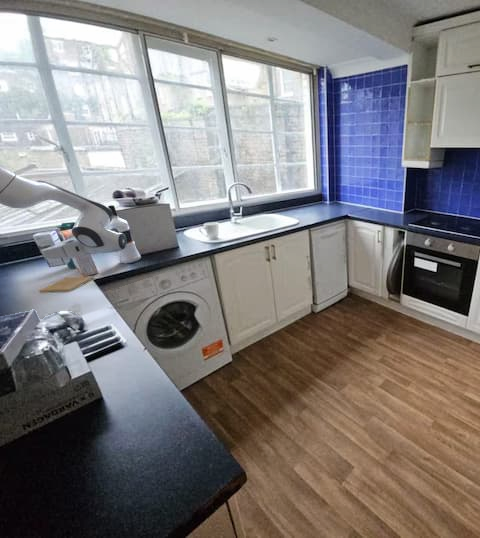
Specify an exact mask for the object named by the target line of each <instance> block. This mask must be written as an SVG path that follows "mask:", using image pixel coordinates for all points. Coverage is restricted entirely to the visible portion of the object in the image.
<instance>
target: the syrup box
mask: <svg viewBox="0 0 480 538" xmlns="http://www.w3.org/2000/svg"><path fill="white" fill-rule="evenodd" d="M58 236H59V235H58V233H57V231H56V230H48V231H41V232H37V233H34V234H33V235H32V238H33V240H34V242H35V244H36V245H37V248H38V249H39V250H40V249H42V248H48V247H51V246H53V245H56V244H58V243H61V241H60V239H59V237H58ZM41 255H42V257H43V258H44V260H45V262H46V263H47V266H48V268H54V267H60V266H61V267H62V266H66V265H67V263H69V262H70V259H69V257H67V258H57V259H47V258H45V257H44V255H43V253H41Z"/></svg>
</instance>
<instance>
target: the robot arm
mask: <svg viewBox="0 0 480 538" xmlns="http://www.w3.org/2000/svg"><path fill="white" fill-rule="evenodd" d="M44 201H45V202H46V201H53V202H58V203H60V204H62V205H63V204H64V205H65V206H68V207H70V208H72V209H76V210H77V211H78V212H79V213H80V214H79V216H78V218H77V220H75V224H74V226H73V229H72V234H73V236H74V237H73V238H70V239H68V240H65V241H62V242H61V243H58V244H56V245H53V246H51V247H48V248H42V249H39V252H40V253H41V254H42V253H43V255H44V256H43V255H42V256H43V258H44V257H45V258H47V259H57V258H67V257H69V258H70V259H72V258H76V257H80V256H83V255H89V254H90V255H96V254H100V253H101V254H109V253H118V251H121V250H123V249H124V248H125V246H126V243H127V239H126V236H125V235H124V234H123V233H118V232H113V231H110V230H109V228H108V226H109V224H110V222H111V221H112V219H113V217H114V214H113V212H112V211H111V210H110V209H109V208H108V206H107V205H105V204H104V203H101V202H97V201H94V200H91V199H88V198H86V197H84V196H82V195H79V194H77V193H75V192H73V191H70V190H68V189H66V188H63V187H61V186H58V185H56V184H53V183H51V182H47V181H45V180H32V179H28V178H26V177H22V176H20V175H18V174H16V173H14V172H12V171H11V170H8V169H6V168H4V167H2V166H0V205H2V206H5V207H8V208H11V209H26V208H31V207H34V206H35V205H38V204H40V203H42V202H44ZM45 258H44V259H45Z"/></svg>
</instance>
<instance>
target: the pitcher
mask: <svg viewBox="0 0 480 538" xmlns="http://www.w3.org/2000/svg"><path fill="white" fill-rule="evenodd" d="M75 223H76V221H72V222H62V223H61V224H60V225H57V226H56V229H59V230H60V231H64V230H70V229H73V226H74V224H75ZM58 237H59V239H60V241H61V242H62V241H63V239H62V237H61V235H60V234H59V235H58ZM69 259H70V258H69ZM66 265H67V268H68V269H70V270H71V269H72V270H73V269H77V268H76V266H75V264H74V262H73V260H72V259H70V262H69V263H67V264H66Z"/></svg>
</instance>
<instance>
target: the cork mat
mask: <svg viewBox="0 0 480 538" xmlns="http://www.w3.org/2000/svg"><path fill="white" fill-rule="evenodd" d="M93 277H94V276H87V277H84V276H74V277H64V278H61V279H60V280H57V281H56V282H53V283H51V284H49V285H47V286H45V287H43V288H41V289H39V290H38V292H39V293H59V292H72V291H73V290H75V289H77V288H79V287H80V285H81V284H83V283H85V282H86V283H88V282H90V281H91V280H90V279H92V278H93ZM89 280H90V281H89ZM92 280H93V279H92ZM87 281H88V282H87ZM86 283H85V284H86ZM83 285H84V284H83ZM78 286H79V287H78ZM81 286H82V285H81ZM76 287H77V288H76ZM74 288H75V289H74ZM72 289H73V290H72Z"/></svg>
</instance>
